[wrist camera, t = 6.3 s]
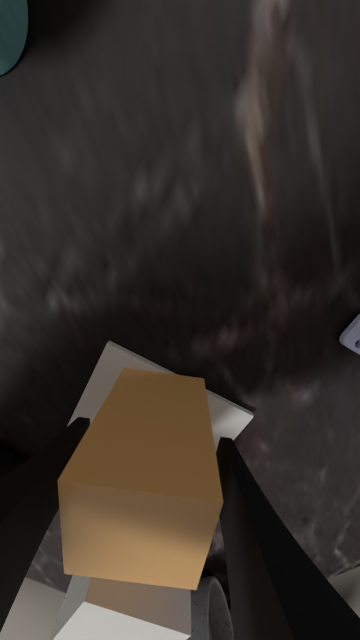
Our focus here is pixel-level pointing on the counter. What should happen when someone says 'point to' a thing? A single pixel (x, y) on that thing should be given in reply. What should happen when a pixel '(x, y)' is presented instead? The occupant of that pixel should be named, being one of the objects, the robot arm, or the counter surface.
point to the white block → (122, 611)
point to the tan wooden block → (143, 484)
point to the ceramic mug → (210, 612)
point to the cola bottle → (8, 462)
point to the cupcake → (12, 32)
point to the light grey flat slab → (114, 358)
